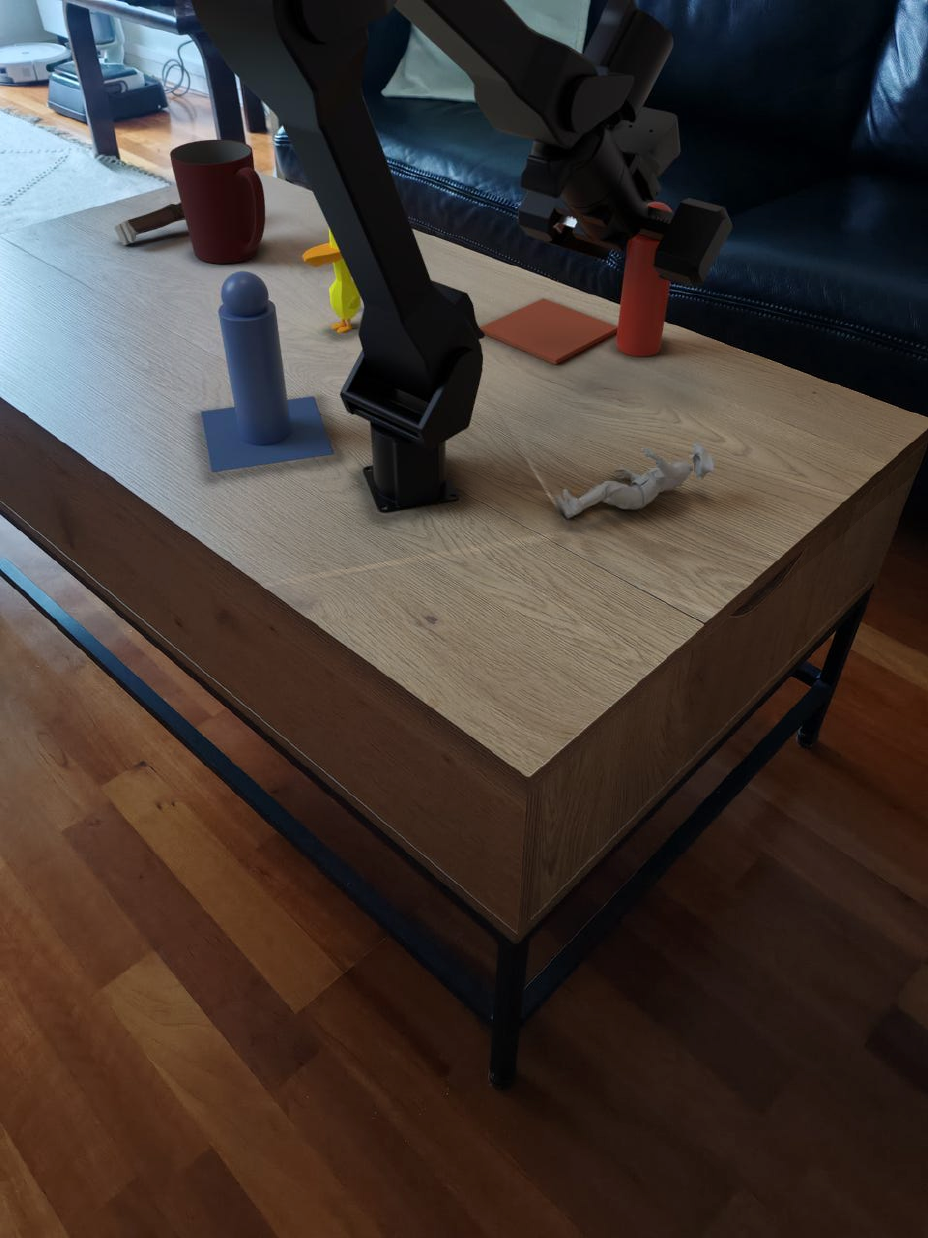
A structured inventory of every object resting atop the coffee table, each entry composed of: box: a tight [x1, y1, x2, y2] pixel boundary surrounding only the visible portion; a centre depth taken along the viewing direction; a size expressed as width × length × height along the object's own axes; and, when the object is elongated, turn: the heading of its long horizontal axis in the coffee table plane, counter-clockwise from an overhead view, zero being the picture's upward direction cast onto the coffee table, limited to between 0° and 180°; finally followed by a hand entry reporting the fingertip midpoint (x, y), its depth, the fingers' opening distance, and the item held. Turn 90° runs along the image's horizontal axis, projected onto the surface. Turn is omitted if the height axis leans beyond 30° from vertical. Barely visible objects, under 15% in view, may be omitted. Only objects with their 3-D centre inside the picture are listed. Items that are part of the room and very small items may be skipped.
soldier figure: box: [555, 442, 715, 519], centre depth 75 cm, size 8×5×12 cm
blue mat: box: [200, 395, 335, 473], centre depth 83 cm, size 10×10×1 cm
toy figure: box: [301, 225, 362, 334], centre depth 94 cm, size 7×4×12 cm, turn 129°
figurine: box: [114, 201, 186, 246], centre depth 116 cm, size 8×5×15 cm
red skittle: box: [615, 201, 673, 358], centre depth 92 cm, size 4×4×14 cm
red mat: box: [479, 297, 618, 365], centre depth 98 cm, size 10×10×1 cm
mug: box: [169, 139, 266, 265], centre depth 109 cm, size 12×9×11 cm
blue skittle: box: [217, 270, 291, 445], centre depth 78 cm, size 4×4×14 cm
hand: (647, 268), depth 91 cm, fingers open, 9 cm apart
